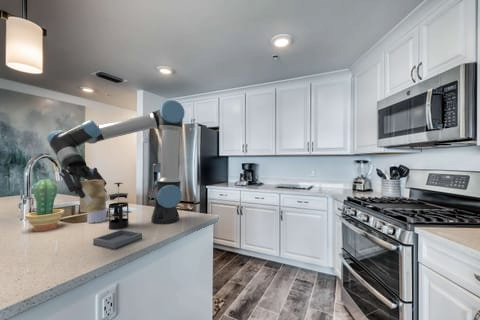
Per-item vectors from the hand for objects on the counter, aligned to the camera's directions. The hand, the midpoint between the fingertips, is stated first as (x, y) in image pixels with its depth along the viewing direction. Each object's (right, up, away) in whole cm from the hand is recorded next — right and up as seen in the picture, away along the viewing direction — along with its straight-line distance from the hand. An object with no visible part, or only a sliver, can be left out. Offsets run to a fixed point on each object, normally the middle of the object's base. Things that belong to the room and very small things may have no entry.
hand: (98, 201), depth 87 cm
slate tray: (+4, -19, +8) cm, 20 cm away
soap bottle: (-26, -19, +40) cm, 51 cm away
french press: (-8, -19, +29) cm, 36 cm away
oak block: (-3, -4, +2) cm, 5 cm away
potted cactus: (-45, -19, +28) cm, 56 cm away
